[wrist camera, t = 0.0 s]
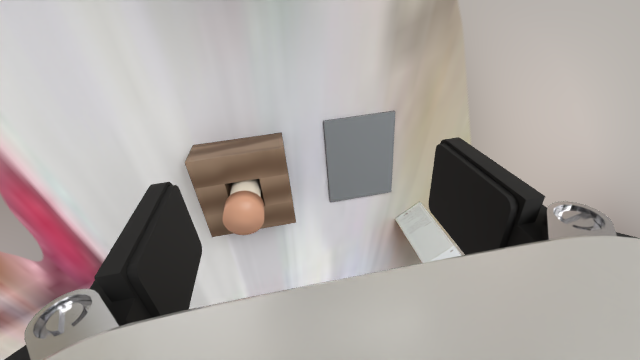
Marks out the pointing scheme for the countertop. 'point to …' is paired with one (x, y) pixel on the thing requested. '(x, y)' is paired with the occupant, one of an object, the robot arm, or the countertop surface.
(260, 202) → the plug
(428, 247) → the small box
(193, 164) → the socket block
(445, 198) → the robot arm
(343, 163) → the mat
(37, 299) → the countertop surface
